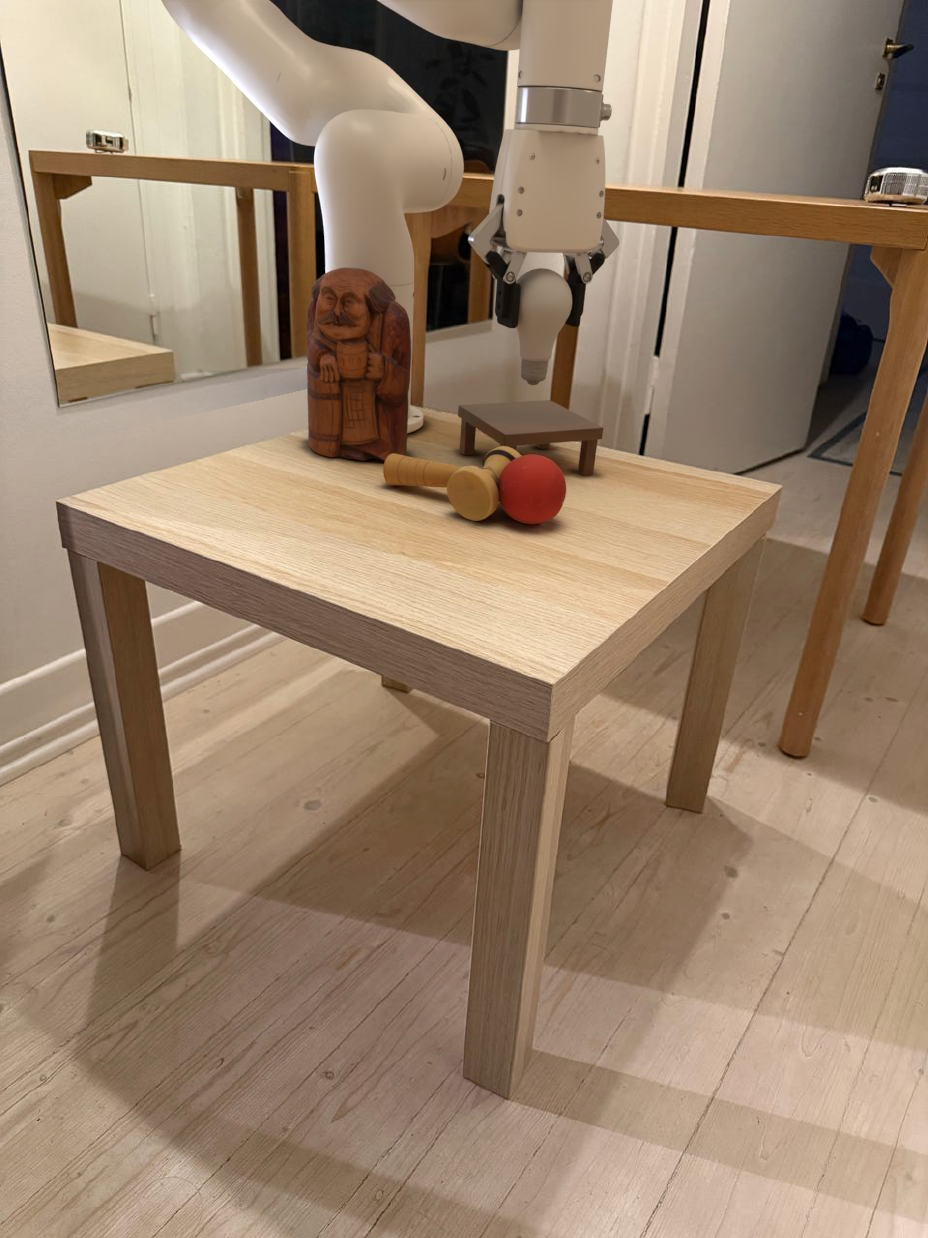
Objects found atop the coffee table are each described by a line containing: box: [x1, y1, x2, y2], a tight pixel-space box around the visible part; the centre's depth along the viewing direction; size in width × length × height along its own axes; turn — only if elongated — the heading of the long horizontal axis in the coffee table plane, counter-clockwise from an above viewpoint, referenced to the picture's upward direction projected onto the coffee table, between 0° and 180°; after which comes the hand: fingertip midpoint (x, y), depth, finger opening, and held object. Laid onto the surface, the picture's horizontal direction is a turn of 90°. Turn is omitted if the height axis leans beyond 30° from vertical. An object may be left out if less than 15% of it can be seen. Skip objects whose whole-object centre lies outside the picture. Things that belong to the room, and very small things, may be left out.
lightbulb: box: [515, 267, 572, 386], centre depth 89 cm, size 6×6×11 cm
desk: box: [457, 399, 604, 476], centre depth 94 cm, size 11×11×5 cm
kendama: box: [382, 446, 567, 525], centre depth 82 cm, size 8×6×18 cm
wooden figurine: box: [305, 268, 411, 462], centre depth 91 cm, size 12×6×18 cm, turn 75°
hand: (538, 323), depth 88 cm, fingers closed on lightbulb, 6 cm apart
